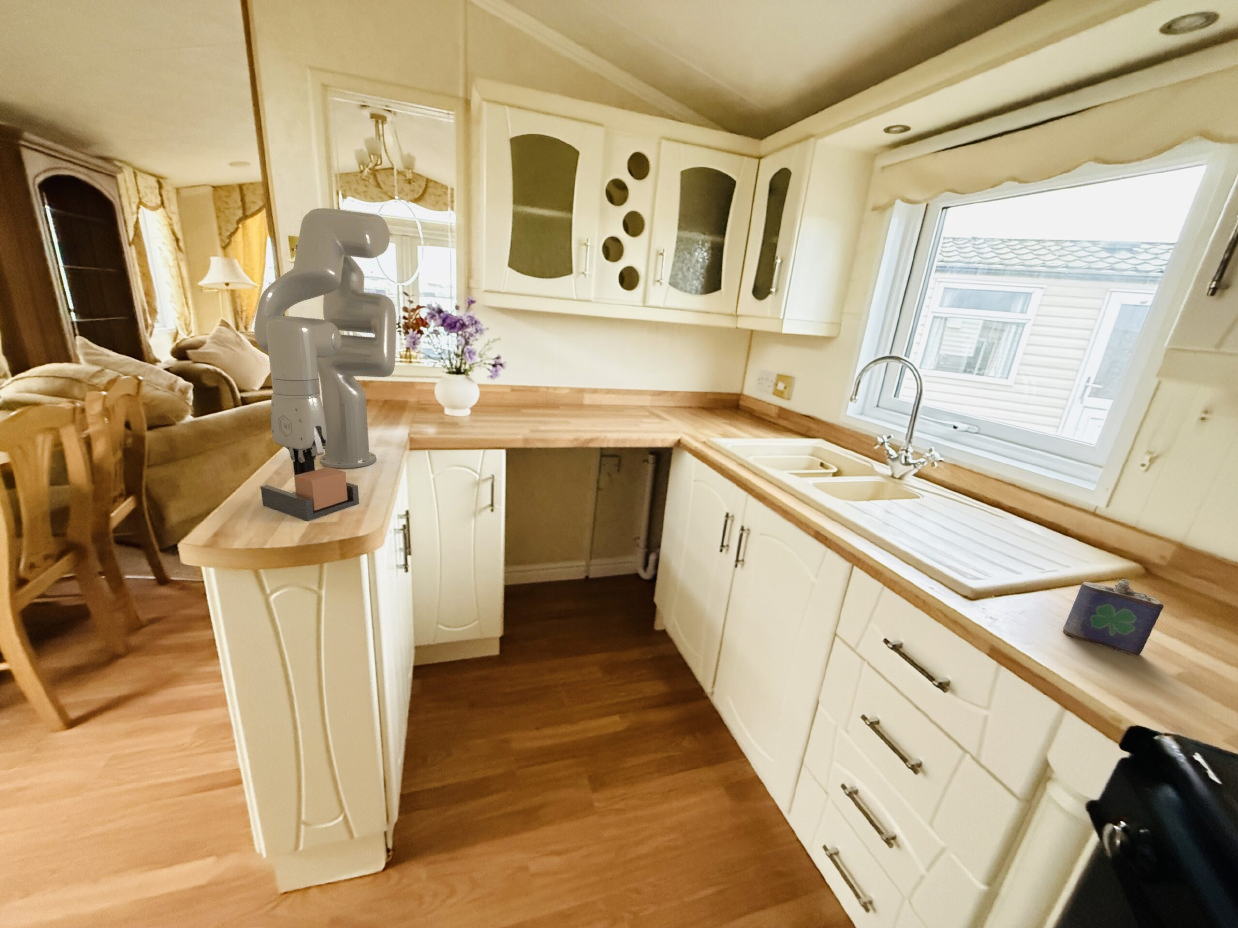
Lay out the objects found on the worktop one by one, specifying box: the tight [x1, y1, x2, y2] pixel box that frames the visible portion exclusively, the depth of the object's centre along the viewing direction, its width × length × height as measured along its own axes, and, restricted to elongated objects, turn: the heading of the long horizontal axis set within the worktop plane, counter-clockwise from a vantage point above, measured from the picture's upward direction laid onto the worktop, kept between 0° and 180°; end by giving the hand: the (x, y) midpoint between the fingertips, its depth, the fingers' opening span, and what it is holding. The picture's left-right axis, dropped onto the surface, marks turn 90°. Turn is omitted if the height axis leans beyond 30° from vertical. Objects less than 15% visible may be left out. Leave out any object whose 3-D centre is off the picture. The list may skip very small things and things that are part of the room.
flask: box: [1062, 578, 1164, 657], centre depth 75 cm, size 9×3×11 cm, turn 59°
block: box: [293, 466, 348, 511], centre depth 97 cm, size 5×7×6 cm
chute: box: [260, 481, 360, 522], centre depth 99 cm, size 13×11×4 cm
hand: (305, 479), depth 98 cm, fingers closed
